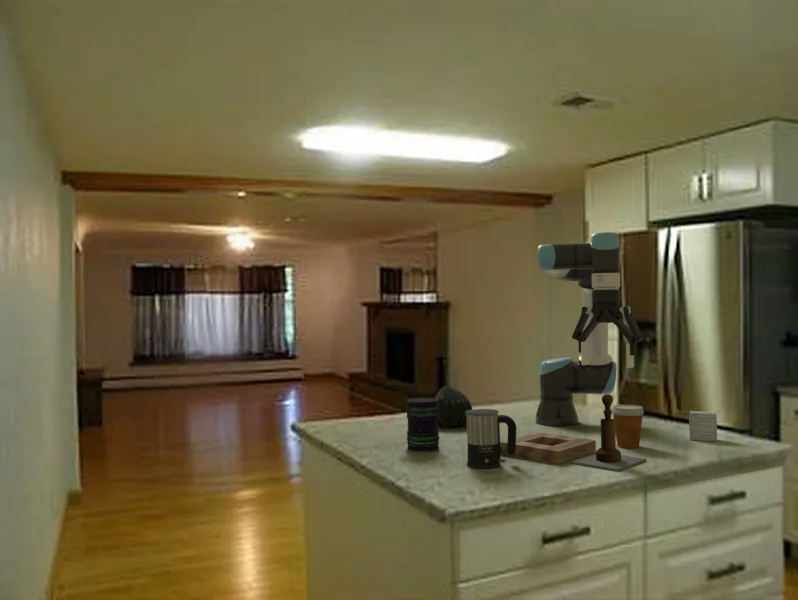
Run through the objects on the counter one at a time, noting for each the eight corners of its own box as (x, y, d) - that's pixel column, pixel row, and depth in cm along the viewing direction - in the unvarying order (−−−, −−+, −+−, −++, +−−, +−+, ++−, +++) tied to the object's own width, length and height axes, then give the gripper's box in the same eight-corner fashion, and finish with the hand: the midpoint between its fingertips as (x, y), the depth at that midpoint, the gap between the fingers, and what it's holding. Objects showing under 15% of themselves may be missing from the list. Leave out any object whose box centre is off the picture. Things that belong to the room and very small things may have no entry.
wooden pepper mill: (618, 457, 197) (617, 392, 197) (623, 462, 191) (622, 395, 191) (594, 457, 198) (592, 392, 198) (598, 462, 191) (597, 396, 192)
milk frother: (476, 470, 187) (475, 414, 187) (449, 458, 202) (448, 406, 202) (522, 465, 193) (521, 410, 193) (493, 454, 207) (492, 403, 207)
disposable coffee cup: (644, 444, 218) (644, 405, 218) (644, 450, 209) (644, 409, 209) (612, 442, 221) (611, 404, 221) (611, 448, 212) (610, 408, 212)
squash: (478, 414, 246) (469, 379, 256) (436, 417, 243) (428, 382, 253) (471, 435, 256) (463, 401, 266) (431, 439, 254) (424, 404, 264)
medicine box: (717, 439, 223) (716, 412, 223) (717, 442, 219) (716, 414, 219) (690, 437, 226) (689, 410, 226) (689, 440, 222) (688, 412, 222)
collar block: (499, 453, 207) (499, 441, 207) (537, 443, 221) (537, 432, 221) (558, 464, 193) (558, 451, 193) (595, 452, 207) (595, 440, 207)
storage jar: (433, 452, 210) (432, 402, 210) (402, 451, 213) (401, 401, 213) (443, 446, 219) (442, 398, 219) (413, 444, 223) (412, 397, 223)
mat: (570, 463, 194) (570, 461, 194) (600, 453, 205) (600, 451, 205) (618, 471, 184) (618, 469, 184) (646, 460, 195) (646, 458, 195)
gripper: (559, 289, 201) (560, 364, 201) (642, 288, 183) (644, 370, 183) (573, 289, 206) (574, 362, 206) (655, 287, 188) (657, 367, 188)
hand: (607, 366), depth 195 cm, fingers open, 13 cm apart
